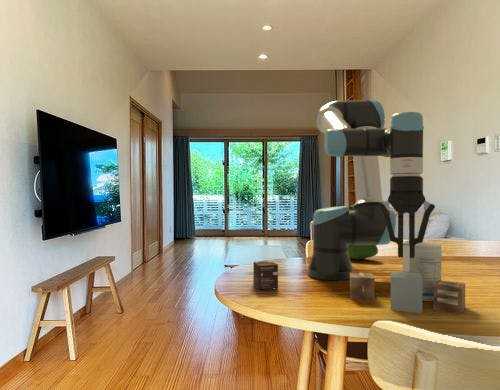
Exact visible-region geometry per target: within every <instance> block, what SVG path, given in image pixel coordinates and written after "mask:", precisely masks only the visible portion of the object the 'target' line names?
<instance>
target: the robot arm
mask: <svg viewBox="0 0 500 390" xmlns="http://www.w3.org/2000/svg"><path fill="white" fill-rule="evenodd" d="M314 119H315V121H314V122H315V125H316V128H317V129H318V130H319V131H320V132H321V133H323V134H324V139H323V140H324V141H323V142H324V144H323V146H324V153H325V154H326V156H329V157H336V158H337V157H338V158H340V157H352V159H353V171H354V172H353V173H354V185H355V196H356V197H355V198H356V201H355V203H354V204H353V205H352V210H351V209H350V208H349V207H348V206H347V205H341V206H331V207H324V208H319V209H316V210H315V211H314V212H313V218H312V219H313V220H312V226H313V229H312V230H313V233H312V235H313V236H312V241H313V242H312V243H313V244H312V245H313V246H312V255H311V258H310V261H309V264H308V267H307V275H308V277H310V278H313V279H317V280H323V281H324V280H326V281H346V280H350V272H353V273H355V272H354V268H353V264H352V261H351V258H349V255H348V245H376V246H377V247H378V246H381V245H382V246H383V245H386V246H387V245H388V244H390V243H395V244H397V256H398V258H402V272H410V258H414V256H415V245H416V244H418V243H422V242H423V241H424V238H425V234H426V230H427V227H428V224H429V220H430V217H431V213H432V212H433V211H434V210H435V208H436V206H435V204H433V203H430V202H429V201H427V200H426V196H425V195H424V177H423V176H421V175H423V173H424V130H425V129H424V127H425V126H424V118H423V114H422V113H421V112H418V111H403V112H402V111H401V112H397V113H394V114H392V115H391V116H390V121H389V127H387V128H385V123H386V122H385V119H386V117H385V110H384V107H383V105H382V103H381V102H380V101H378V100H377V99H376V100H375V99H371V100H370V99H364V100H363V99H362V100H358V99H356V100H353V99H352V100H350V99H349V100H348V99H347V100H339V99H338V100H334V101H331V102H328V103H326V104H324V105H322V106H321V107H320V108H319V109H318V111H317V112H316V115H315V118H314ZM379 157H384V158H389V173H390V175H391V177H390V178H389V186H390V188H389V195H388V197H387V200H385V201H384V200H383V191H382V181H381V172H380V163H379V160H380V159H379ZM390 205H391V207H392V208H393V209H394V210H392V209H390ZM422 205H423V210H424V212H423V214H422V218H421V223H420V226H419V229H418V234H417V237H416V229H415V227H416V224H415V223H416V222H415V221H416V220H415V219H416V213H417V212H418V211H419V209H420V208H421V207H422ZM395 212H396V213H397V218H396V213H395ZM405 213H407V214H408V241H409V244H404V214H405ZM396 227H397V236H396V235H395V232H396Z"/></svg>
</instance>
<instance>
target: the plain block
mask: <svg viewBox="0 0 500 390" xmlns="http://www.w3.org/2000/svg"><path fill="white" fill-rule="evenodd" d="M390 310H391V311H400V312H409V313H419V314H423V301H422V277H421V273H409V272H403V271H394V270H391V271H390Z"/></svg>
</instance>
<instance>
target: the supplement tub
mask: <svg viewBox="0 0 500 390" xmlns="http://www.w3.org/2000/svg"><path fill="white" fill-rule="evenodd" d="M403 244H409V240H407V241H406V240H405V241H403ZM442 253H443V251H442V244H441V243H439V242H435V241H434V242H433V241H427V240H425V241H424V240H423V242H422V243H418V244H416V245H415V256H414V258H410V272H409V273H421V277H422V302H434V284H435V283H436V282H437V281H438V280H442V260H443V259H442V258H443V257H442V256H443V255H442Z"/></svg>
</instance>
